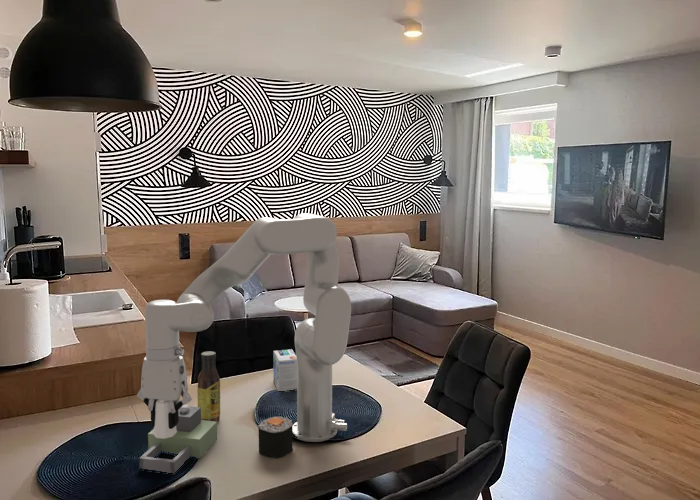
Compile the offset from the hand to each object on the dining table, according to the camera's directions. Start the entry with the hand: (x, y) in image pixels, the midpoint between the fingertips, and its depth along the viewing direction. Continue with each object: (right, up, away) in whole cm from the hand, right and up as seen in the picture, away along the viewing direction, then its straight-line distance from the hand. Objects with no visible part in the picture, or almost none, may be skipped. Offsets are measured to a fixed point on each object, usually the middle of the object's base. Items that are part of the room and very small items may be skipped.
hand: (164, 424), depth 133 cm
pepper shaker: (0, -2, 0) cm, 2 cm away
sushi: (+26, -9, +8) cm, 29 cm away
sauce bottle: (+5, -7, +24) cm, 26 cm away
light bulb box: (+23, -3, +51) cm, 56 cm away
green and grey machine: (+1, -9, +6) cm, 11 cm away
